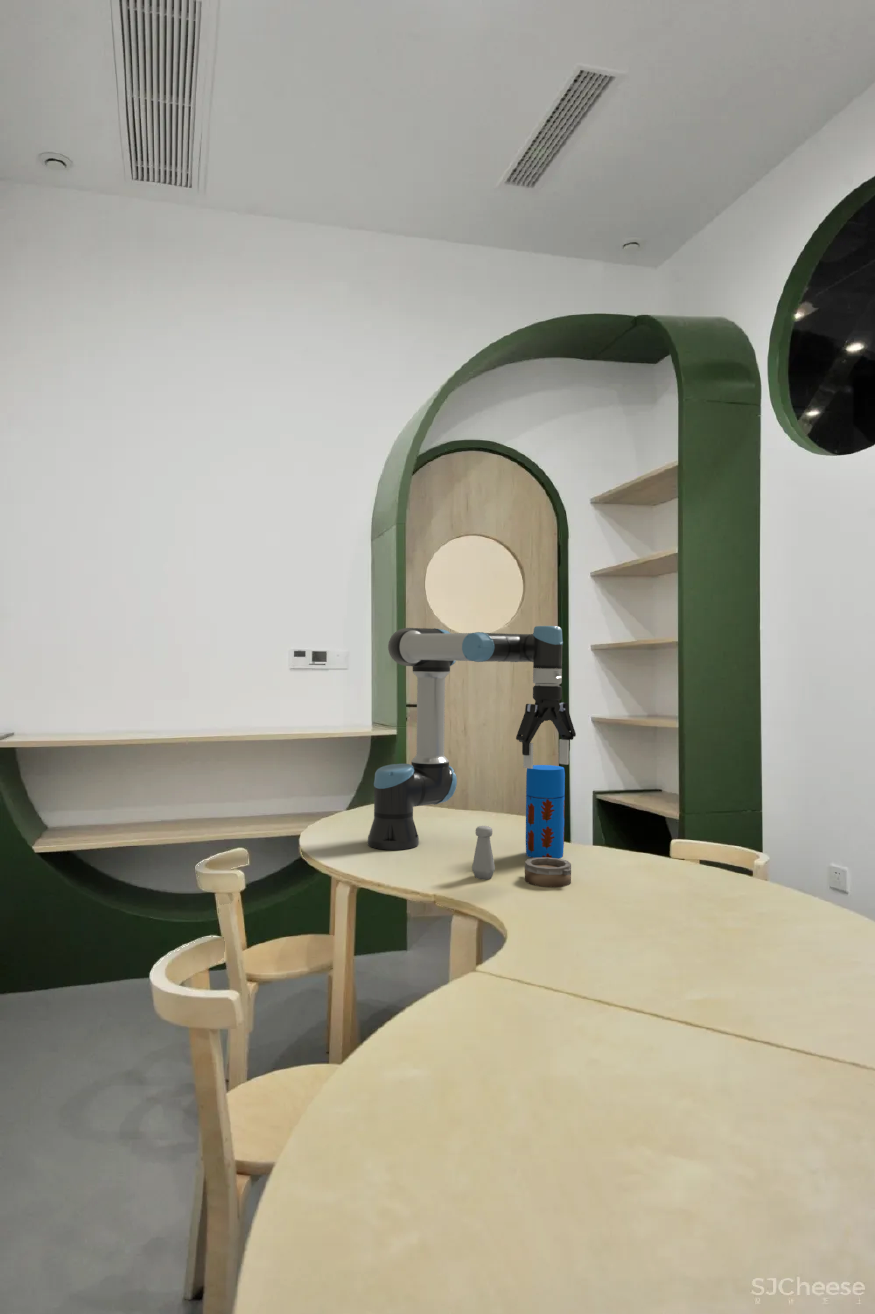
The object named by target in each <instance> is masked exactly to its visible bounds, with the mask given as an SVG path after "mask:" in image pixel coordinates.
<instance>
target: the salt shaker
mask: <svg viewBox="0 0 875 1314" xmlns="http://www.w3.org/2000/svg"><path fill="white" fill-rule="evenodd" d="M475 836H477V841H476V846H475V850H474V855H473V861H472V866H471V868H472V869H471V870H472V873H473V875H474V878H476V879H477V880H485V881H486V880H491V879H492V877H493V875H494V872H495V870H496V866H495V861H494V854H493V849H492V843H491V837H492V836H493V828H492V827H491V826H490V825H479V826H477V827H476V828H475Z"/></svg>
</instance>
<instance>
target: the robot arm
mask: <svg viewBox="0 0 875 1314" xmlns="http://www.w3.org/2000/svg"><path fill="white" fill-rule="evenodd" d="M563 644H564V641H563V630H562V628H561V627H560V626H556V625H536V626H534V628H533V632H532V633H502V632H501V633H498V632H497V633H495V632H494V633H493V632H483V631H481V632H479V631H476V632H457V633H456V632H455V633H454V632H453V633H451V632H450V631H448V630H447V629H446V630H445V629H443V628H442V629H441V628H435V627H434V628H426V627H425V628H424V627H423V628H421V627H419V628H418V627H416V628H415V627H405V628H399V629H398V630H396V631H395V632H393V634H392V635H391V636H390V638H389V640H388V645H387V646H388V647H387V649H388V653H389V656H390V658H391V659H392V661H394V662H395V663H396V664H398V665H401V666H404V667H412V674H414V675H415V677H416V678H417V680H416V681H417V682H416V683H417V685H416V690H417V692H416V753H415V754H416V755H415V756H414V757H413V758H412V759H411V763H391V764H387V765H383V766H381V767H378V768H377V769H376V771H375V773H374V782H373V786H374V787H373V789H374V791H373V793H374V795H373V798H374V800H373V801H374V802H373V820H372V822H371V823H372V824H371V827H370V830H369V833H368V836H367V845H368V846H369V847H371V848H374V849H378V850H386V851H387V850H388V851H389V850H390V851H391V850H392V851H399V850H409V849H413V848H415V847H418V846H419V842H420V841H419V840H420V839H419V834H418V831H417V827H416V825H415V821H414V808H415V807H420V806H429V805H439V804H441V803H442V804H443V803H446V802H448V801H449V800H450V799H451V798H452V797H453V796H454V794H455V791H456V790H457V783H458V780H457V779H458V778H457V774H456V773H455V770H454V768H453V767H452V765H451V766H450V760H449V759H448V758H447V757H446V756H445V727H446V726H445V717H446V715H445V713H446V712H445V710H446V709H445V707H446V700H445V699H446V678H447V676H448V675H449V674H450V673H451V667H452V666H453V665H454V664H455V663H456V662H459V661H461V662H467V661H468V662H475V663H483V662H485V663H487V662H498V663H499V662H510V663H520V662H521V663H529V662H532V663H533V664H532V665H533V666H532V668H533V669H532V683H533V684H534V685H533V686H532V699H533V700H534V703H526V704H525V706H524V707H525V708H524V714H523V718H522V720H521V723H520V725H519V729H518V730H517V734H516V737H515V739H516V740H517V741H518V742H520V743H522V744H521V745H522V746H521V747H522V748H521V749H522V750H521V752H522V756H523V762H522V764H523V766H522V767H523V768H524V769H527V768H530V769H533V765H534V743H533V742H532V740H533V739H534V736H535V735H536V734H537V732H538V730H539V728H540V727H541V726H542V725H541V724H542V723H544V722H548V721H551V722H552V724H553V725H554V728H555V729H556V730H557V732H558V733H559V735H560V737H561V738H560V739H558V740H559V742H558V743H559V745H558V746H559V747H558V748H559V751H558V753H559V754H558V756H559V758H558V760H559V761H558V763H559V765H566V766H567V765H569V762H570V761H569V758H570V750H571V741H573V740H574V738H575V737H576V736H577V735H576V734H577V733H576V730H575V728H574V724H573V722H572V718H571V714H570V712H569V703H568V702H560V701H561V700H562V698H563V697H562V695H563V694H562V693H563V691H562V690H563V687H562V686H561V684H562V681H563V680H562V679H563V678H562V677H563V675H562V674H563V673H562V672H563V669H562V668H563V665H562V664H563Z"/></svg>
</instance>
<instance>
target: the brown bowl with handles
mask: <svg viewBox="0 0 875 1314" xmlns="http://www.w3.org/2000/svg"><path fill="white" fill-rule="evenodd" d="M524 881H525V883H527V884H529V885H532V886H534V887H535V886H537V887H541V888H561V887H566V886H569V885H570V884H571V883H572V863H571V862H570V861H569V860H565V859H562V858H549V857H541V858H528V859H526V860H525V861H524Z"/></svg>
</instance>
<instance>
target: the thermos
mask: <svg viewBox="0 0 875 1314" xmlns="http://www.w3.org/2000/svg"><path fill="white" fill-rule="evenodd" d="M525 773H526V777H525V778H526V779H525V782H526V785H525V789H526V791H525V794H526V795H525V852H526V853H525V855H526V856H527V857H528V858H530V859H532V858H541V857H549V858H559V859H562V858H563V857H564V847H565V845H564V844H565V798H566V797H565V792H566V791H565V789H566V788H565V787H566V786H565V783H566V782H565V781H566V779H565V778H566V773H565V767H563V766H559V765H550V764H533V769H530V768H526V772H525Z"/></svg>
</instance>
